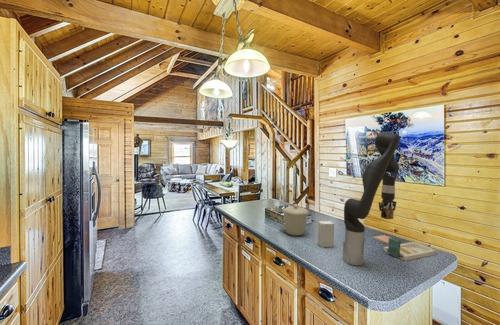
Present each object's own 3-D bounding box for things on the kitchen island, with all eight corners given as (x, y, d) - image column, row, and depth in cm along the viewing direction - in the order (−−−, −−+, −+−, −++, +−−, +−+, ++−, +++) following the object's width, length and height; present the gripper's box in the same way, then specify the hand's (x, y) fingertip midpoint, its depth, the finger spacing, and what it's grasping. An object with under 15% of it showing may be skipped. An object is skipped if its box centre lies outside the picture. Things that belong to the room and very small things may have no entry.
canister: (310, 238, 148) (311, 207, 147) (283, 237, 149) (284, 206, 148) (304, 229, 166) (305, 201, 165) (280, 228, 167) (281, 201, 166)
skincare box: (330, 243, 141) (331, 220, 140) (334, 247, 135) (335, 223, 134) (317, 243, 140) (318, 220, 140) (320, 247, 134) (321, 223, 134)
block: (387, 219, 144) (388, 210, 144) (380, 217, 148) (381, 208, 148) (393, 218, 146) (393, 209, 145) (386, 216, 150) (386, 208, 150)
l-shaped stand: (400, 259, 120) (401, 242, 120) (385, 251, 129) (385, 236, 129) (419, 254, 126) (420, 239, 126) (404, 248, 135) (404, 233, 134)
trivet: (387, 244, 141) (387, 242, 141) (373, 238, 151) (373, 236, 151) (398, 242, 145) (398, 240, 145) (384, 236, 154) (384, 235, 154)
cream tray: (405, 261, 119) (406, 256, 119) (384, 251, 131) (384, 247, 131) (436, 254, 128) (436, 250, 128) (413, 245, 140) (413, 241, 140)
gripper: (385, 193, 140) (384, 219, 141) (401, 192, 145) (400, 217, 146) (375, 191, 147) (374, 216, 148) (390, 190, 152) (389, 214, 153)
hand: (386, 217), depth 147 cm, fingers closed on block, 5 cm apart
